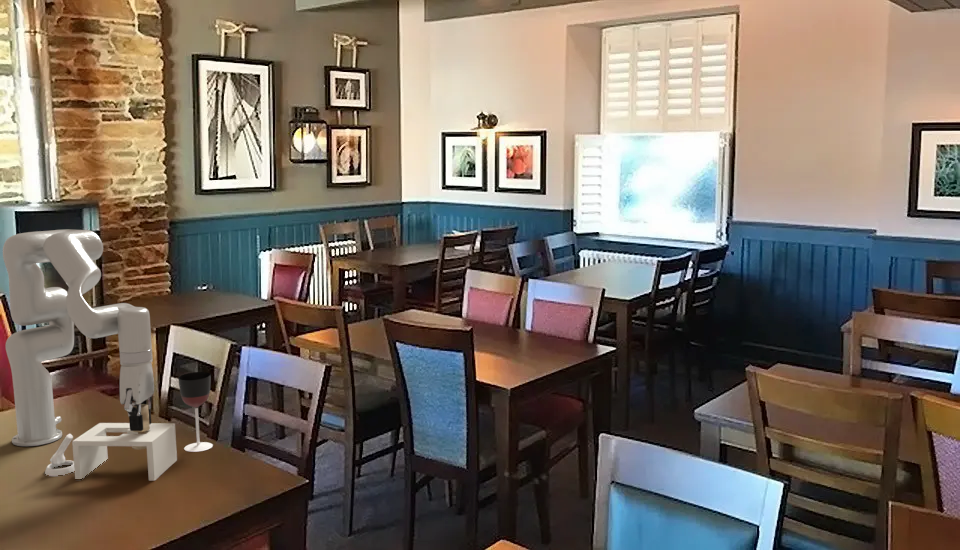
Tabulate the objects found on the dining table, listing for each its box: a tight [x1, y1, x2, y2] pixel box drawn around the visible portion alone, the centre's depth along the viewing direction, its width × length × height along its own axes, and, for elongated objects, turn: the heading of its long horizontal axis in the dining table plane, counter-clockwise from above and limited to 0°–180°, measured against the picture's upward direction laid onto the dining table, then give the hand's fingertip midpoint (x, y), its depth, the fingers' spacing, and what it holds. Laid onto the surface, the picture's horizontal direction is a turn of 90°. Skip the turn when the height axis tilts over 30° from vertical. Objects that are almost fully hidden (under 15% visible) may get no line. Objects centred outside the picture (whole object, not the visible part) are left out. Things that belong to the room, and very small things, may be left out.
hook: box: [44, 433, 75, 477], centre depth 214 cm, size 8×12×7 cm
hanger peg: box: [131, 404, 150, 450], centre depth 213 cm, size 5×5×10 cm
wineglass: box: [178, 371, 214, 453], centre depth 230 cm, size 8×9×20 cm
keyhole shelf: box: [71, 422, 178, 482], centre depth 214 cm, size 20×14×10 cm
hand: (140, 426), depth 213 cm, fingers closed on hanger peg, 4 cm apart
